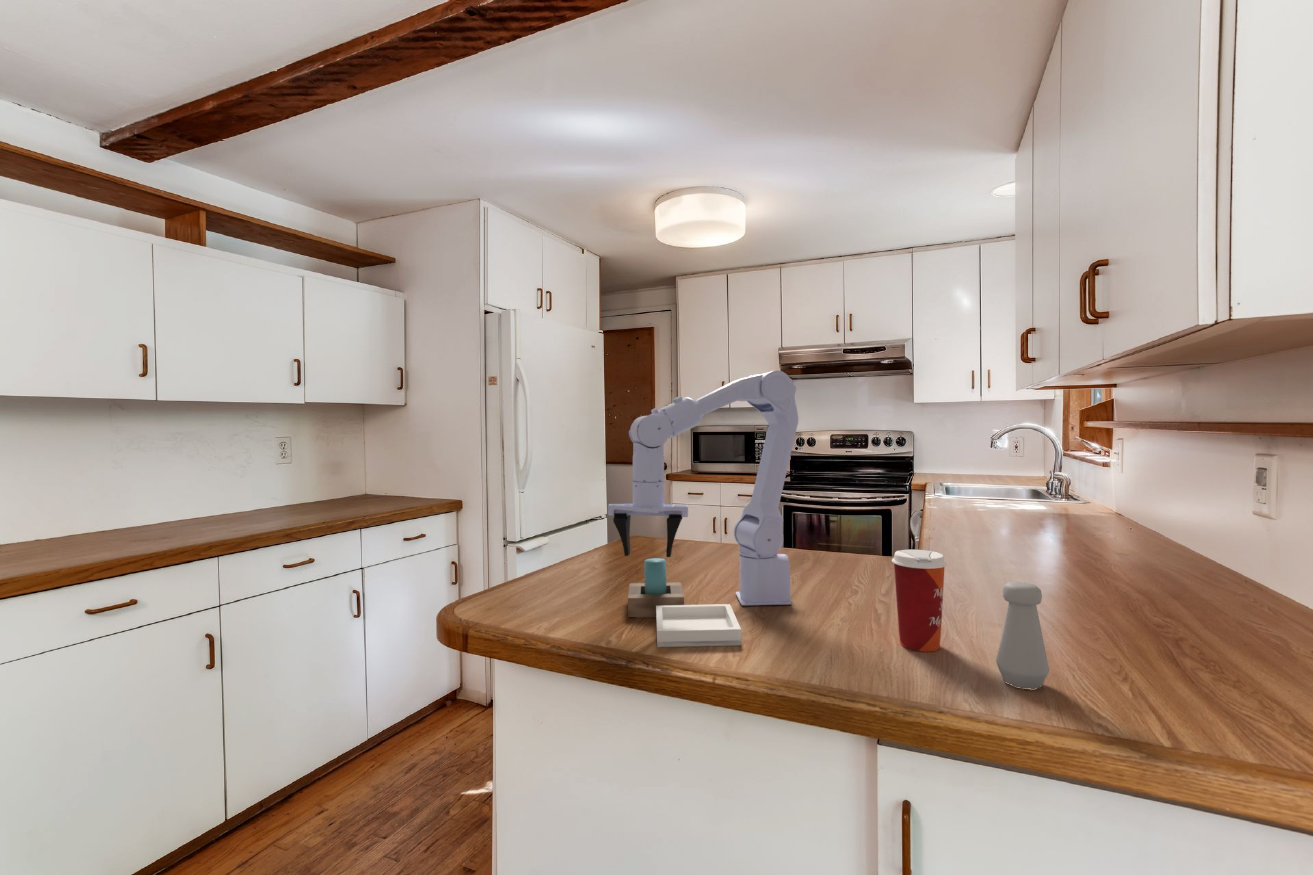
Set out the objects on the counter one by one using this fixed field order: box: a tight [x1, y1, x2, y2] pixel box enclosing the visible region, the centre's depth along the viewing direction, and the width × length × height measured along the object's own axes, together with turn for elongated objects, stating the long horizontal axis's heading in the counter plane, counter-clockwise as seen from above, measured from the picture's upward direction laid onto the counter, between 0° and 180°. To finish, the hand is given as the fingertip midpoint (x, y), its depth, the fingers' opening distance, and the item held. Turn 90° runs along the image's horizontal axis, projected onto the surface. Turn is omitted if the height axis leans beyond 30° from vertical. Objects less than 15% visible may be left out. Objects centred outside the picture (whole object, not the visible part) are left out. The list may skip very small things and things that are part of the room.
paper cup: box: [891, 549, 948, 653], centre depth 91 cm, size 8×8×14 cm
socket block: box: [627, 581, 685, 618], centre depth 112 cm, size 10×10×4 cm
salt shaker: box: [995, 581, 1050, 689], centre depth 77 cm, size 6×6×13 cm
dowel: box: [644, 557, 667, 594], centre depth 112 cm, size 4×4×9 cm
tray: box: [655, 603, 742, 648], centre depth 99 cm, size 13×13×2 cm
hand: (648, 555), depth 110 cm, fingers open, 7 cm apart
